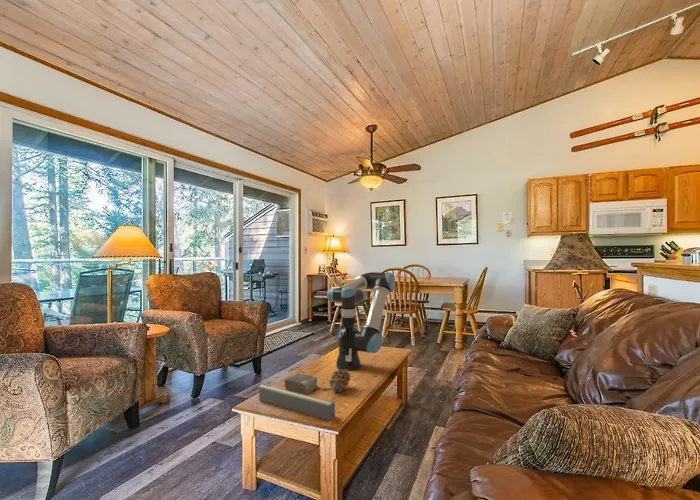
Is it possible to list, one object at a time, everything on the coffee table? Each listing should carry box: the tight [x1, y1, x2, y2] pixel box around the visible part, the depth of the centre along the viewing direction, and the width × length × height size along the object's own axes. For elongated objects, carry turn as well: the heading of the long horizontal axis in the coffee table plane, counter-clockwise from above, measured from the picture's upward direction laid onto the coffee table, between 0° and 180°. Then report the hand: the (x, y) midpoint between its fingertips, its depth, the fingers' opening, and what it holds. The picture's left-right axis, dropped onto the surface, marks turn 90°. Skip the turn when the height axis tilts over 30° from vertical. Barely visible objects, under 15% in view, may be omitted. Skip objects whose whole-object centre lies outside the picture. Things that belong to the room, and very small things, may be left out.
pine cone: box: [320, 369, 351, 393], centre depth 164 cm, size 22×10×10 cm, turn 153°
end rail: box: [258, 383, 336, 421], centre depth 148 cm, size 5×40×7 cm, turn 60°
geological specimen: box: [284, 373, 318, 395], centre depth 170 cm, size 11×6×15 cm
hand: (348, 361), depth 175 cm, fingers closed
